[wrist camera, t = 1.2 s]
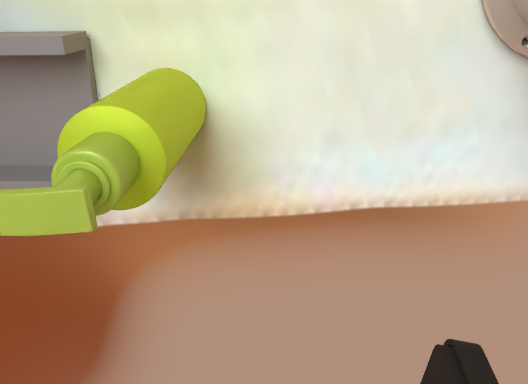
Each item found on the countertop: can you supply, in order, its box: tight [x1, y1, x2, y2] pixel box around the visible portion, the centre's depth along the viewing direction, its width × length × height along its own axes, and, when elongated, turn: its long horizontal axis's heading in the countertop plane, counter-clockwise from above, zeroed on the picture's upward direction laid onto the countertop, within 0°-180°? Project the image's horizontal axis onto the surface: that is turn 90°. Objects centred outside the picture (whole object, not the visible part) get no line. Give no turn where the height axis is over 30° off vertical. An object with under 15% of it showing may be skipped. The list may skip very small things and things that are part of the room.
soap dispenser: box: [0, 68, 206, 236], centre depth 29 cm, size 6×7×20 cm
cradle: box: [0, 31, 98, 189], centre depth 37 cm, size 13×11×4 cm
